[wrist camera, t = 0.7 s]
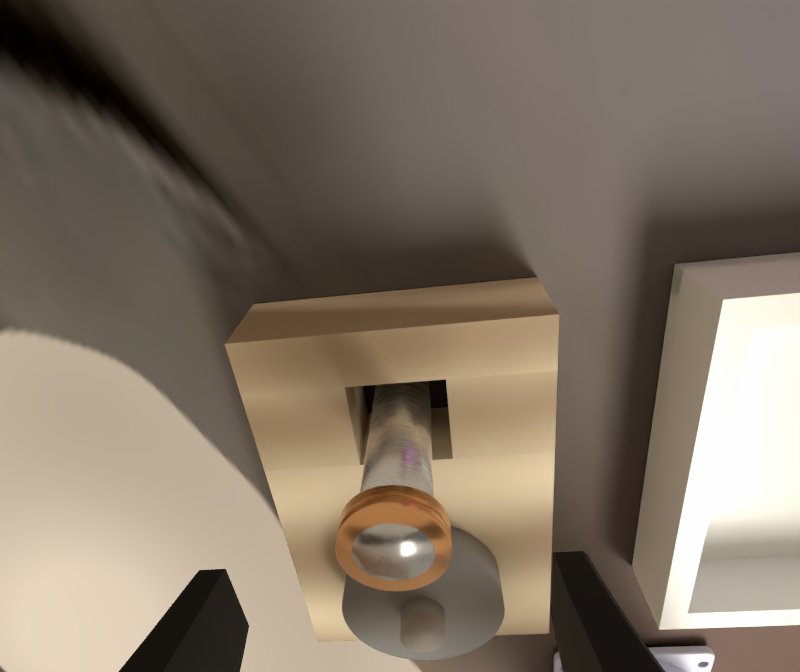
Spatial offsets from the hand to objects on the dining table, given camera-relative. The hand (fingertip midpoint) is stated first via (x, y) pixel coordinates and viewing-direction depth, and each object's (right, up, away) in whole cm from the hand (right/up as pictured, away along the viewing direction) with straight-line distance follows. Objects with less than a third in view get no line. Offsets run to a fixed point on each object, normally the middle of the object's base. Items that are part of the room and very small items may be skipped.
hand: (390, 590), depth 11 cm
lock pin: (0, +4, +8) cm, 9 cm away
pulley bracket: (+1, +1, +10) cm, 10 cm away
